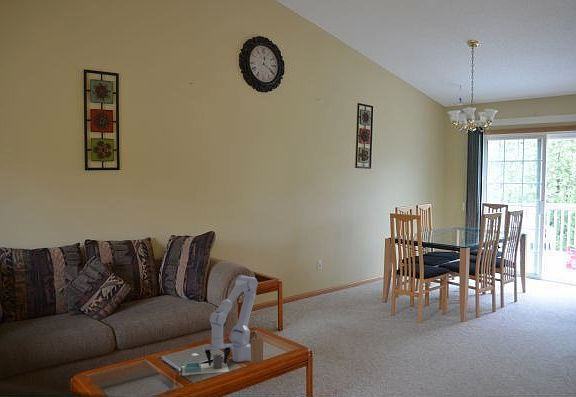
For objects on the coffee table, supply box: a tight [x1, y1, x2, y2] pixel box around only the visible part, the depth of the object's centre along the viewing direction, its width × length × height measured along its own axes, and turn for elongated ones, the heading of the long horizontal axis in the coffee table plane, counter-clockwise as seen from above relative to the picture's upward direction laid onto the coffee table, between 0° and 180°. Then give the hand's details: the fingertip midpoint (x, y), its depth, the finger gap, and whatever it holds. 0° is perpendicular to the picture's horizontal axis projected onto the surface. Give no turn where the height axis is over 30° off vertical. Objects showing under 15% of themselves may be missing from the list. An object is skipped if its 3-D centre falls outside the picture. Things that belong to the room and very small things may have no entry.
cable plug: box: [212, 354, 223, 369], centre depth 231 cm, size 4×4×6 cm
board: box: [181, 361, 230, 376], centre depth 230 cm, size 22×13×3 cm, turn 103°
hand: (217, 364), depth 231 cm, fingers open, 7 cm apart
